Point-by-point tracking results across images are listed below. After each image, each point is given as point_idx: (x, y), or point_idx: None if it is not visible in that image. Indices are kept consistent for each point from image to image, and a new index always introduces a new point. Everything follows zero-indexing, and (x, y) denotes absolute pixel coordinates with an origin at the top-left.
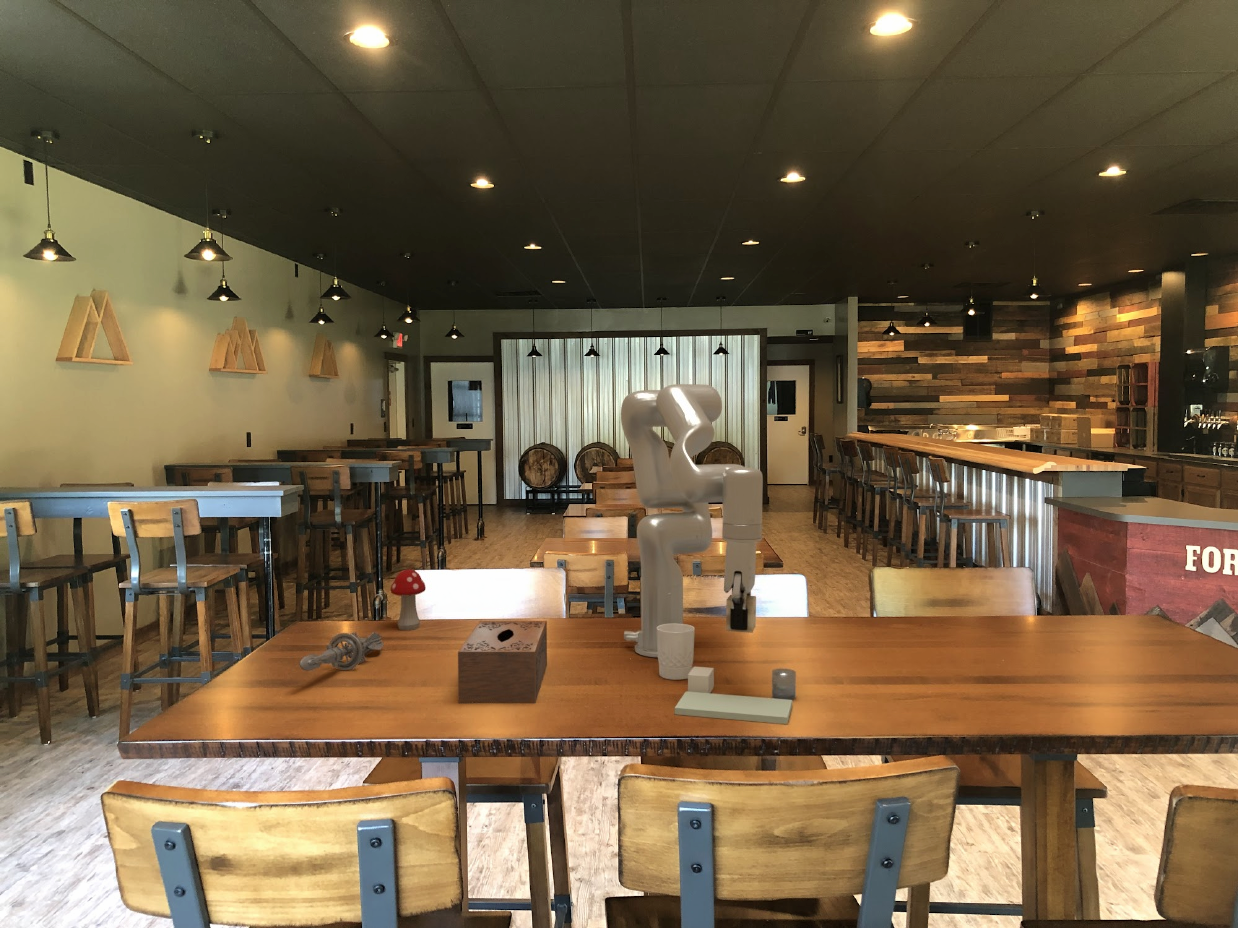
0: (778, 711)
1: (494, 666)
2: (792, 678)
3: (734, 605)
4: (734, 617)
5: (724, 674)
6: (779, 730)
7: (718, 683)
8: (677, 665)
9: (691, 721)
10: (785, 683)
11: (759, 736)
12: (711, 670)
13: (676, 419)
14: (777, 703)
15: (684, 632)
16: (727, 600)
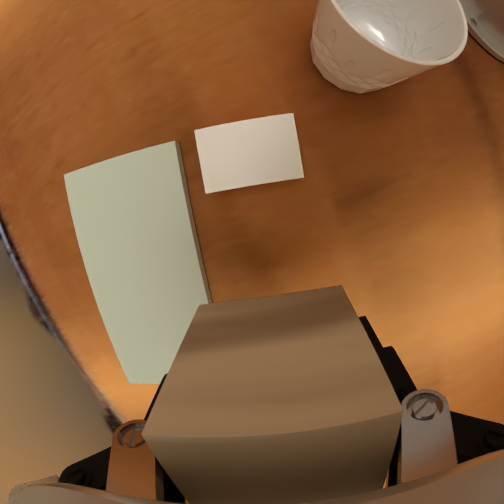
0: (147, 368)
1: None
2: None
3: (101, 456)
4: (153, 399)
5: (412, 171)
6: (102, 367)
7: (333, 177)
8: (320, 56)
9: (56, 221)
10: None
11: (66, 344)
12: (273, 179)
13: None
14: None
15: (359, 35)
16: (144, 436)
